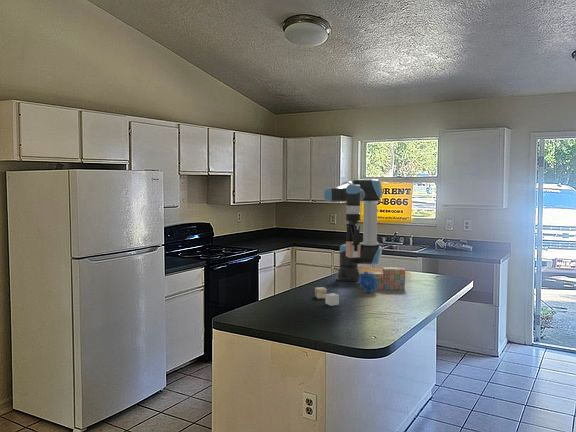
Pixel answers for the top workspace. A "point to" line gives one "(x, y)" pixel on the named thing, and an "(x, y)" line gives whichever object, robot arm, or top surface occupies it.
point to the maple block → (320, 292)
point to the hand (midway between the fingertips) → (352, 256)
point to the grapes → (368, 282)
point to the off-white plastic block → (332, 299)
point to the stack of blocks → (390, 278)
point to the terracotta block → (351, 249)
